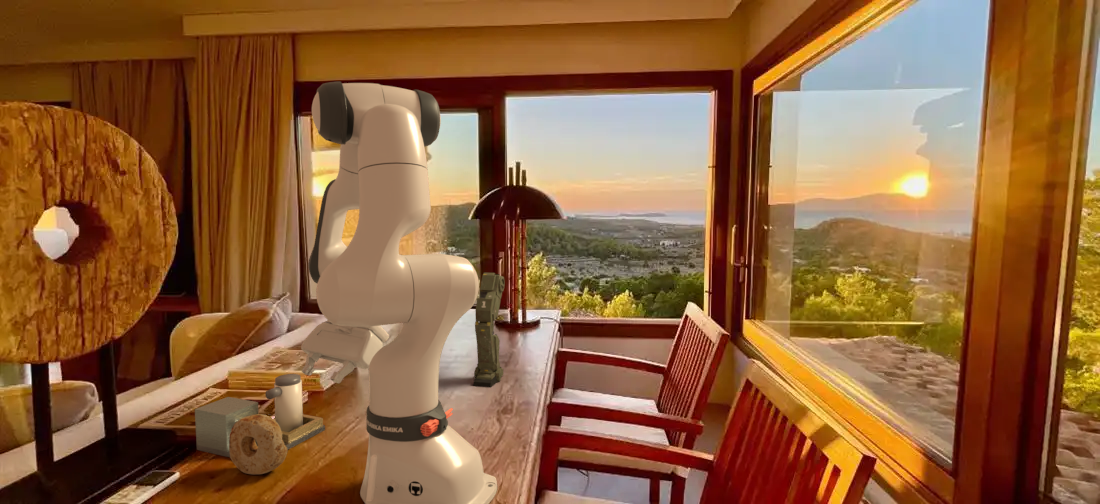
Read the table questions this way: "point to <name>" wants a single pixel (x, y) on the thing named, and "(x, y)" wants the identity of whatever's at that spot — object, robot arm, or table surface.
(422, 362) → the robot arm
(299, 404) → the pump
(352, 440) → the table surface
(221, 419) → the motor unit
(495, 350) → the mechanical leg
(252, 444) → the stone disc
